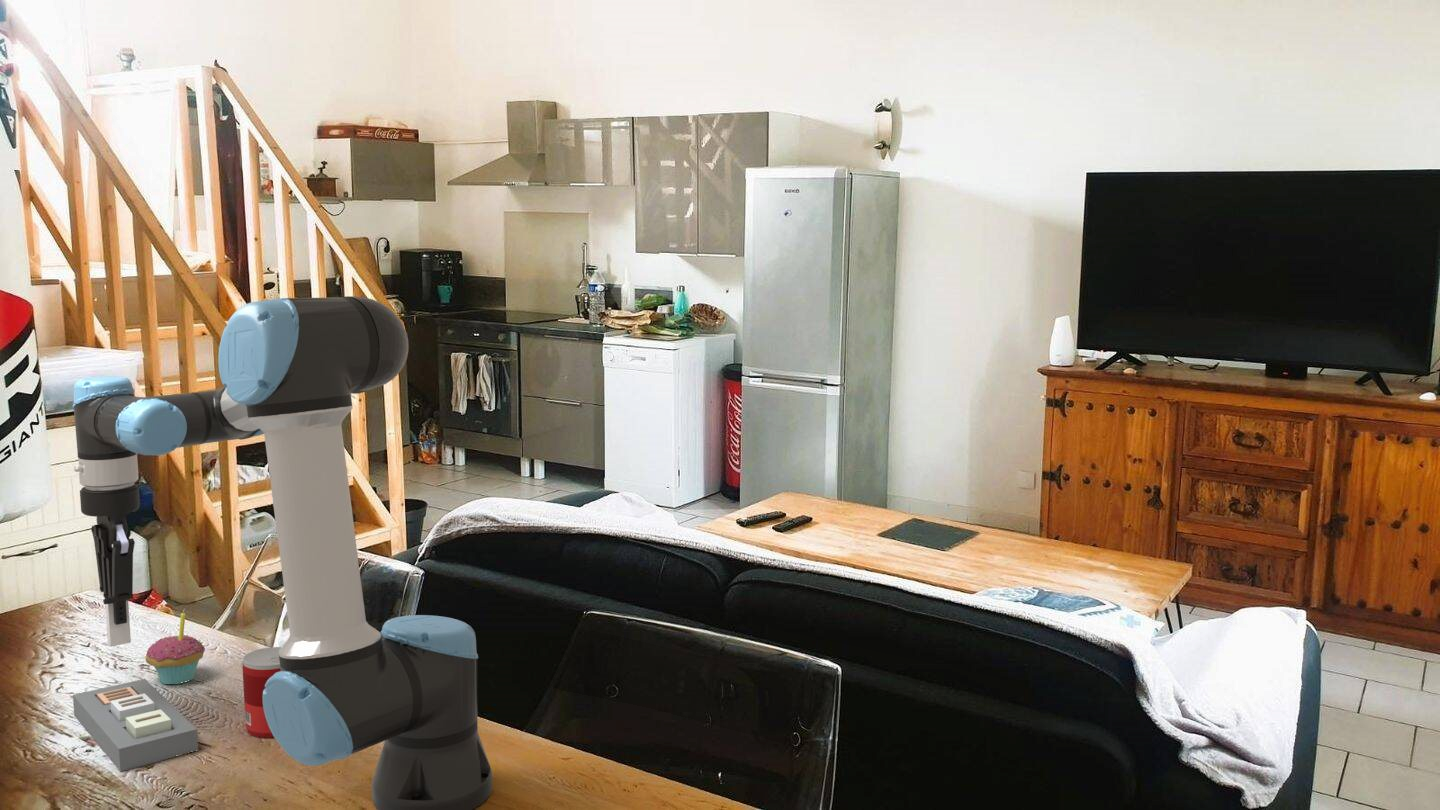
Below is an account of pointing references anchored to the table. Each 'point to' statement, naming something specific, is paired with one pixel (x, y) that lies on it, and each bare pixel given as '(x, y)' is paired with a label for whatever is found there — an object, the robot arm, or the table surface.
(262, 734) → the canned food
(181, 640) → the cupcake
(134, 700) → the tile
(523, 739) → the table surface
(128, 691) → the tile
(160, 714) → the tile
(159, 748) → the keypad
